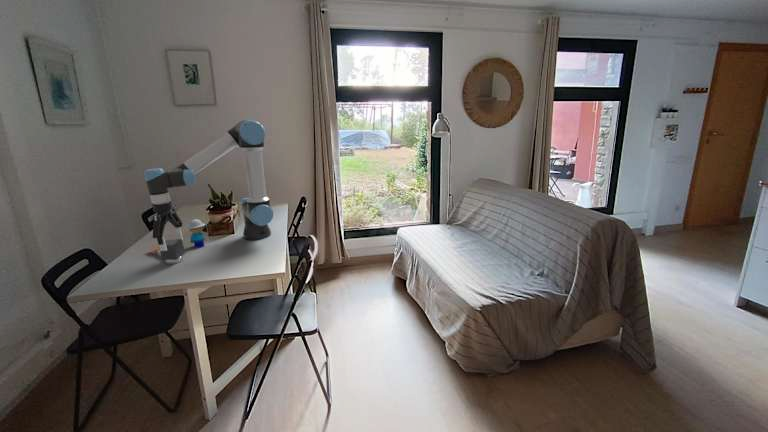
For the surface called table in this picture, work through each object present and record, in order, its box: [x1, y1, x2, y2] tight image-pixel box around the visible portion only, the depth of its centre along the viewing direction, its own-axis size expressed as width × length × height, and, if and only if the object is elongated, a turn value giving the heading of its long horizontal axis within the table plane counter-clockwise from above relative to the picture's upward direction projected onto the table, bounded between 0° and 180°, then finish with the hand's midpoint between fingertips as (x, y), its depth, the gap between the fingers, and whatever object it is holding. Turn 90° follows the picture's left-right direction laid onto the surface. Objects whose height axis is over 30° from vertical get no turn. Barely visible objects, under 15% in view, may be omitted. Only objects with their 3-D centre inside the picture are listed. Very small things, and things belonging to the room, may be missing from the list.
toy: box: [186, 219, 208, 248], centre depth 185 cm, size 8×9×15 cm
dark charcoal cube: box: [159, 239, 186, 261], centre depth 165 cm, size 7×7×8 cm
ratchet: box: [149, 244, 184, 265], centre depth 172 cm, size 28×7×6 cm, turn 51°
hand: (172, 245), depth 164 cm, fingers open, 13 cm apart
